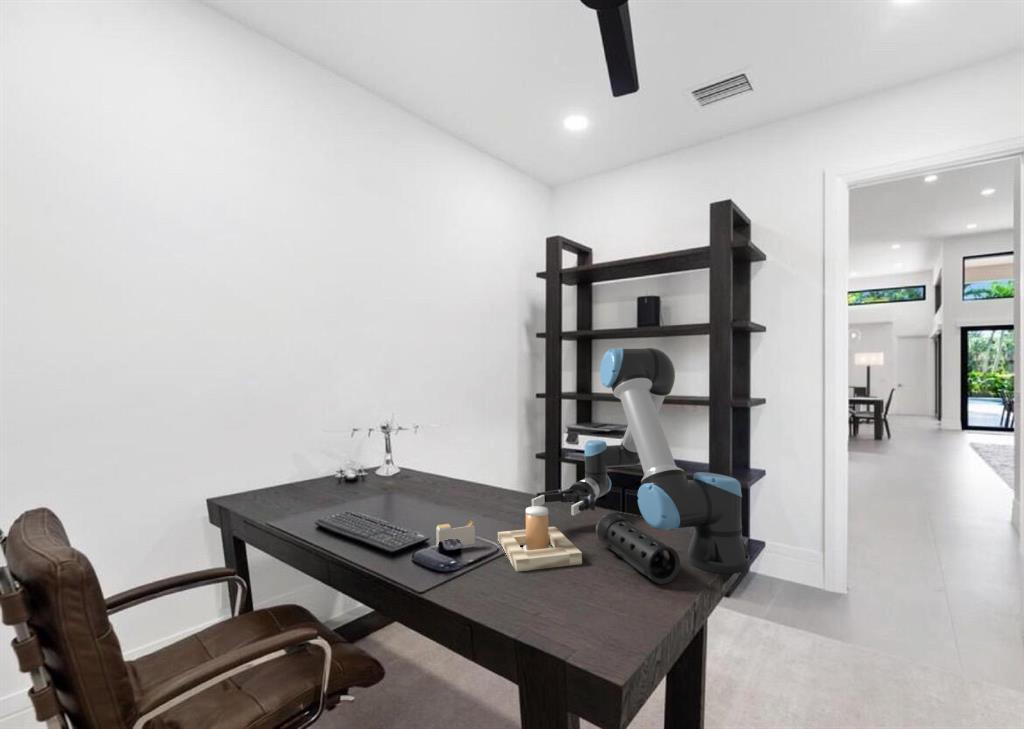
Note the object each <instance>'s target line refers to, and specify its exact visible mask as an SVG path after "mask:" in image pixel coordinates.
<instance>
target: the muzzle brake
mask: <svg viewBox="0 0 1024 729" xmlns="http://www.w3.org/2000/svg"><path fill="white" fill-rule="evenodd" d="M595 534H596V536H597V538H598V542H600V543H601V545H603V546H604V547H605V548H607V549H608V550H610V551H613V552H614V553H616V554H617V555H618V556H619V557H620V558H622V559H623V560H624V561H625V562H627V563H628V564H629V565H630V566H632V567H633V568H635V569H636V570H637V571H639V572H640V573H641V574H643V575H644V576H646V577H648V579H650V580H651V581H652V582H654V583H655V584H658V585H667V584H668V583H671V582H672V581H673V580H674V579H675V578H676V577H677V575H678V573H679V572H680V571H679V570H680V566H681V560H680V556H679V554H678V552H677V551H676V550H675V549H674V548H672V547H671V546H669V545H668V544H665V543H664V542H662V541H661V540H659V539H657V538H655V537H654V536H652V535H651V534H649V533H648V532H646V531H645V530H642V529H640V528H639V527H638V526H636V525H635V524H633V523H631V522H630V521H629V520H627V519H626V518H625V517H623V516H621V515H619V514H618V513H617V514H616V513H610V514H605V515H603V516H602V517H600V519H598V521H597V523H596V526H595ZM665 551H666V552H667V554H668V556H666V555H665V553H664V552H665ZM669 567H670V568H669Z"/></svg>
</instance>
